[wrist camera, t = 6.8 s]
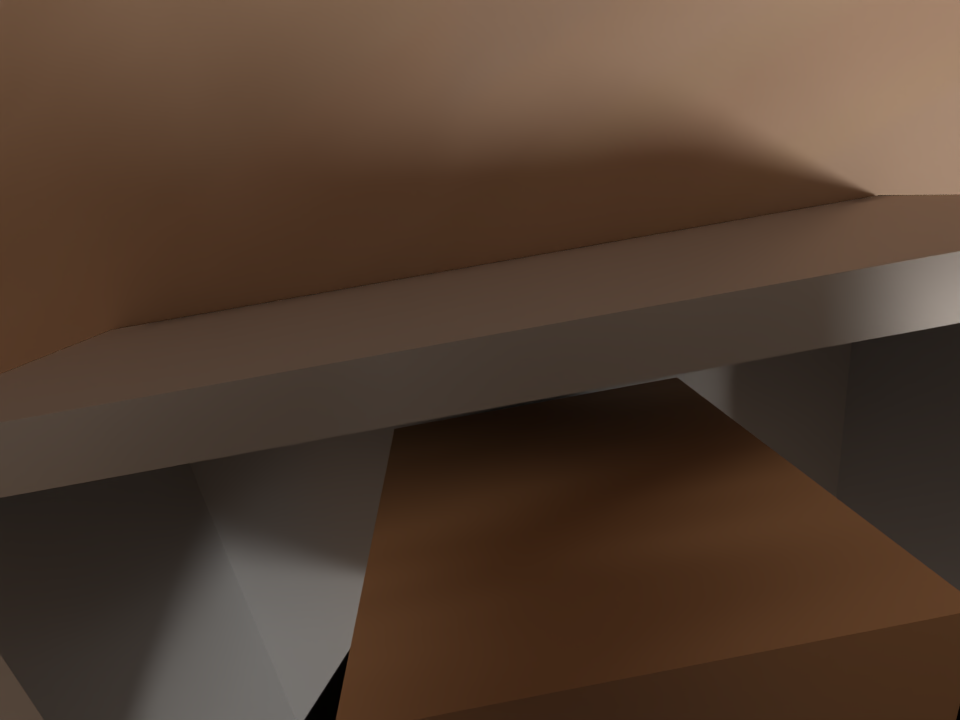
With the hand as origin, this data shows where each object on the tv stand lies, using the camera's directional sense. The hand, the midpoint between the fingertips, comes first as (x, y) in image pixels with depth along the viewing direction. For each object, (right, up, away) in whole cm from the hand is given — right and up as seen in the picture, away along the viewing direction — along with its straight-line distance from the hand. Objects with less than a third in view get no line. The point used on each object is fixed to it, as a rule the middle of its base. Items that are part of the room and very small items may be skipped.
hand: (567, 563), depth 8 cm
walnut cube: (0, 0, +1) cm, 1 cm away
